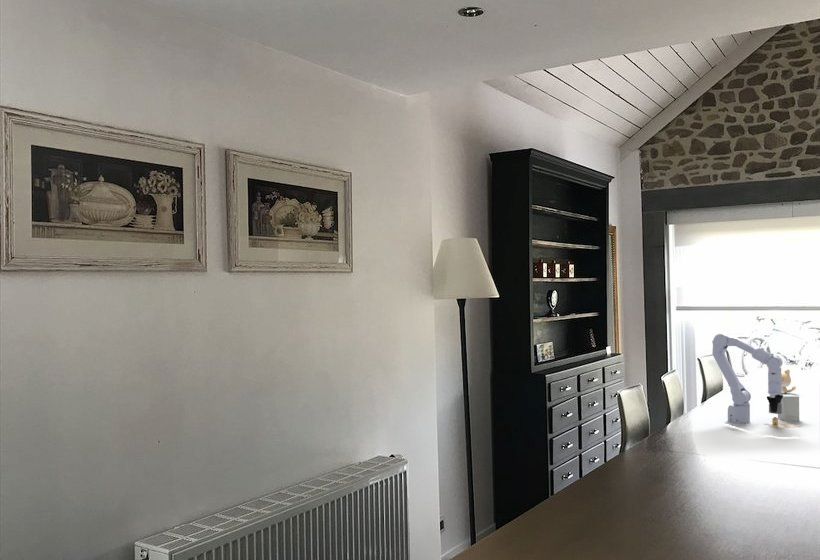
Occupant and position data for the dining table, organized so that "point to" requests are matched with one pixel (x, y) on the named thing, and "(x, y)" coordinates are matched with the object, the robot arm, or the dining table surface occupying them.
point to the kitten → (786, 381)
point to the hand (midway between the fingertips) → (775, 411)
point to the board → (783, 425)
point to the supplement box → (789, 408)
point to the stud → (775, 421)
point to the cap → (779, 409)
